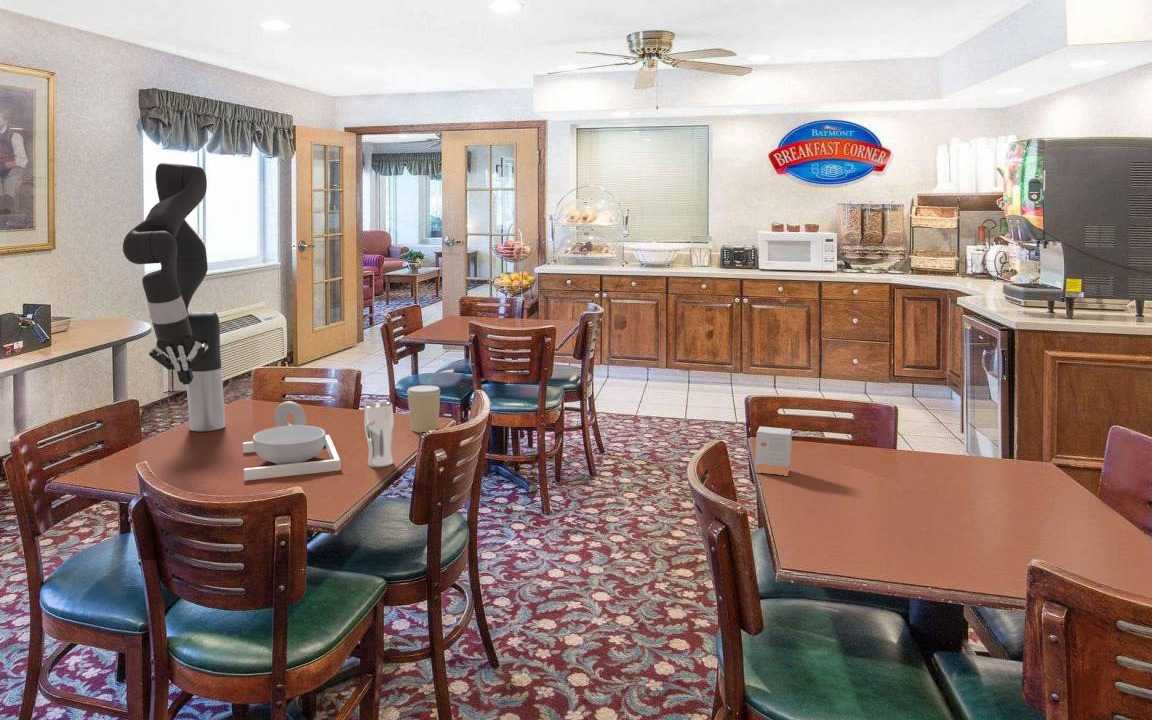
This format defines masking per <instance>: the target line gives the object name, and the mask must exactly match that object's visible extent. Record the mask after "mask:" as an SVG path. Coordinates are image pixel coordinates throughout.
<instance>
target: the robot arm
mask: <svg viewBox="0 0 1152 720" xmlns="http://www.w3.org/2000/svg"><path fill="white" fill-rule="evenodd" d="M207 183H208V181H207V175H206V172H205V169H203V167H201V166H199V165H195V164H190V163H189V164H188V163H179V162H178V163H176V162H161V163H159V164H158V165H157V166H156V169H155V186H156V193H157V197H158V201H159V202H157V203H156V204H155V205H153V207H151V209H150V210H149V212H148V214H147V216H146V217H145V219H144V220H143V221H142V222H140V223H139V224H137V225H136V226H135V227H133V228H132V229H131V230H130V231H129V232H128V233H127V234H126V235H125V237H124V239H123V242H122V252H123V254H124V257H125V258H126V259H127V260H128V261H129V262H130V263H132V264H135V265H149V264H152V265H153V264H160V269H159V270H155V271H151V272H149V273H146V274H145V275H144V276H143V277H142V280H141V282H142V287H143V290H144V294H145V298H146V301H147V306H148V313H149V319H150V320H151V324H152V327H153V330H154V333H155V337H156V344H155V345H156V346H155V347H152V349H151V350H150V351H149V354H148V355H149V356H150V357H151V358H152V359H153V360H155V361H156V362H158V363H159V364H160V365H162V366H163V367H164V368H165V369H167V370H175V371H176V373H177V377H178V380H179V382H180V383H182V385H186V393H187V394H186V395H187V410H188V424H189V430H190V431H192V432H200V433H201V432H212V431H213V432H214V431H218V430H221V429H224V428H225V427H226V418H225V417H226V415H225V400H224V384H223V371H222V360H221V359H222V358H221V328H220V327H221V326H220V319H219V318H220V317H219V316H218V314H217V313H216V312H215V311H189V310H188V309H189V306H190V302H191V301H192V298H193V297H194V294H195V293H196V291H197V289H199V287H200V286H201V284H202V283H203V281H204V279H205V278H206V275H207V272H208V269H209V268H208V265H209V264H208V257H207V249H206V246H205V242H204V241H203V239H201V238H200V236H199V235H198V234H197V232H196V231H195V230H194V229H193V228H192V227H191V226H190V224H189V223H188V222H187V220H186V218H187V217H188V216H189V215H190V214H191V213H192V212H193V211H194V210H195V209H196V207H198V205H199V204H200V203H202V201H203V200H204V198H205V196H206V194H207V187H208V184H207ZM194 348H195V349H194ZM193 349H194V351H195V352H196V354H195V355H194V356H191V352H192V350H193Z"/></svg>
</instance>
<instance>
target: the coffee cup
mask: <svg viewBox="0 0 1152 720" xmlns="http://www.w3.org/2000/svg"><path fill="white" fill-rule="evenodd" d="M406 394H407V403H408V413H409V422H410V423H409V424H410V431H412V432H414V431H415V432H414V433H422V432H425V431H429V430H433V429H438V430H439V422H440V404H441V403H440V400H441V397H440V396H441V389H440V387H439V386H437V385H428V384H427V385H425V384H424V385H413V386H410V387H408V388H407V391H406ZM422 434H423V433H422Z"/></svg>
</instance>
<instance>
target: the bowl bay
mask: <svg viewBox="0 0 1152 720" xmlns="http://www.w3.org/2000/svg"><path fill="white" fill-rule="evenodd" d="M325 435H326V438H325V445H324V447H326V450H327V453H328V456H329V458H330V459H326V460H325V459H323V460H314V461H306V462H304V463H294V464H284V465H277V464H275V465H268V466H265V465H264V466H257V467H246V468H243V476H244V477H243V479H244V481H245V482H246V481H252V480H253V481H254V480H255V481H256V480H264V479H273V478H280V477H281V478H282V477H289V476H300V475H309V474H311V475H312V474H318V473H327V472H328V473H329V472H334V471H335V472H337V471H338V472H339V471H341V468H342V467H341V459H340V457H339V455H338V454H339V453H338V452H337V450H336V447H335V445H334V442H333V440H332V438H331V436H330V434H325ZM242 450H243V454H247V453H256V452H255V449H254V446H253V441H245V442H242Z"/></svg>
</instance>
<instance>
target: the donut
mask: <svg viewBox="0 0 1152 720" xmlns="http://www.w3.org/2000/svg"><path fill="white" fill-rule="evenodd" d="M274 411H275V412H274V414H273V415H274V419H273V420H274V424H275V427H280V426H290V425H307V415H306V413H305V410H304V409H303V407H302V406H301V405H300V404H299V403H297V402H295V401H291V400H288V401H287V400H286V401H283V402H281V403H280V404H279V405H278V406H277V407H276V409H275V410H274ZM289 414H290V415H291V417H292V418H293V423H292V424H291V423H290V422H289V421H288V415H289Z"/></svg>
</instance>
